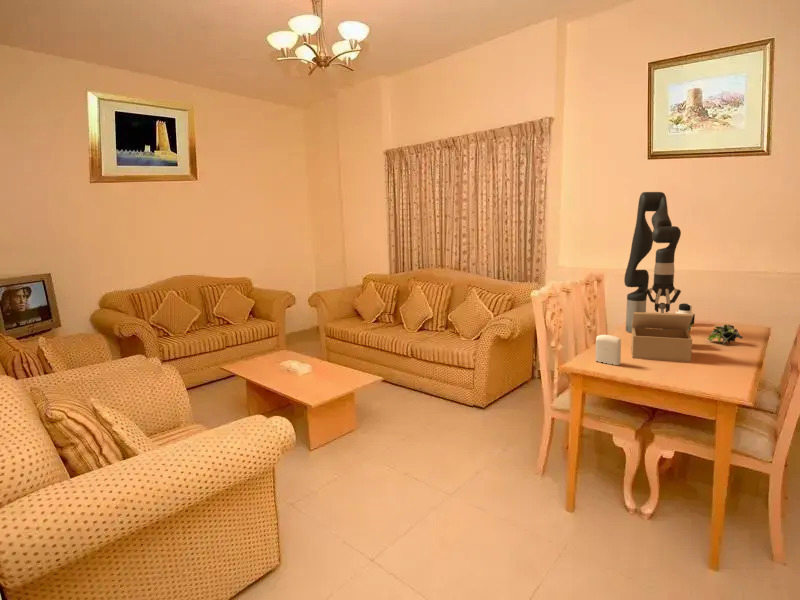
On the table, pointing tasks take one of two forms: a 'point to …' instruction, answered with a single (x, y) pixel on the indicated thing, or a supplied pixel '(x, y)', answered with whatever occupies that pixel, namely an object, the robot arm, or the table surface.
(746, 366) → the table surface
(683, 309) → the medicine bottle
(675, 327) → the carton flap
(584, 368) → the table surface
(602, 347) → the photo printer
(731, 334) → the green leafy plant
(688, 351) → the carton
